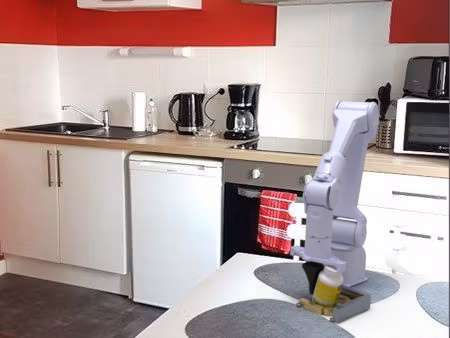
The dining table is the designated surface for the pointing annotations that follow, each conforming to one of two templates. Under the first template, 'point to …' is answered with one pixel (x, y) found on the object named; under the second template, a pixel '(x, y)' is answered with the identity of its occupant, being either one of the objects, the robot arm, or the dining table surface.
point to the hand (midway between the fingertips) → (315, 293)
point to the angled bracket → (350, 307)
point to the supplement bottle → (328, 287)
